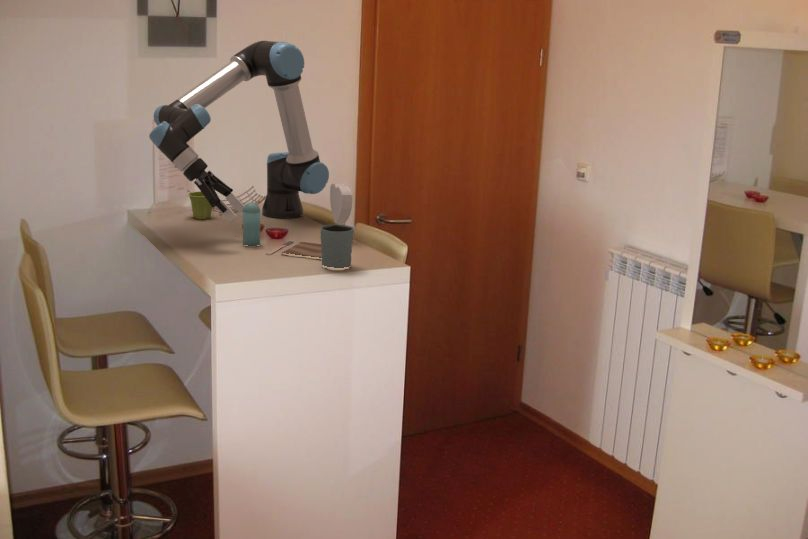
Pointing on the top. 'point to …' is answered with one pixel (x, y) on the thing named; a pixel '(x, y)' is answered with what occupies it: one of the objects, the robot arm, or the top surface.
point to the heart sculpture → (340, 202)
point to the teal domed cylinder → (251, 224)
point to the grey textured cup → (336, 245)
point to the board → (306, 249)
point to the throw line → (288, 242)
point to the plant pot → (200, 205)
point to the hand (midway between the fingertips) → (238, 214)
